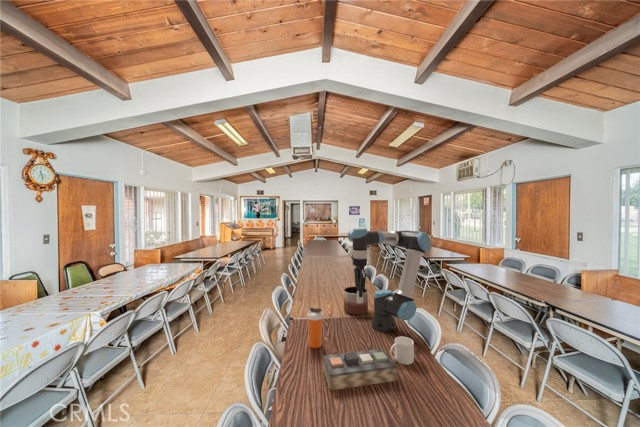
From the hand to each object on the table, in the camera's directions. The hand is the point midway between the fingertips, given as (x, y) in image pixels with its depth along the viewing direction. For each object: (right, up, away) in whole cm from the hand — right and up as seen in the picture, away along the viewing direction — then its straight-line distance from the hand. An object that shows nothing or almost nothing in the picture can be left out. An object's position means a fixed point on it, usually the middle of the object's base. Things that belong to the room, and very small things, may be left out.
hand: (359, 302), depth 131 cm
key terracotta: (-14, -23, -20) cm, 33 cm away
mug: (+20, -27, -6) cm, 34 cm away
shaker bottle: (-24, -27, +8) cm, 37 cm away
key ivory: (0, -23, -17) cm, 29 cm away
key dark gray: (-7, -22, -19) cm, 29 cm away
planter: (+6, -26, +55) cm, 61 cm away
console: (-4, -27, -18) cm, 32 cm away
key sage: (+7, -23, -16) cm, 29 cm away
